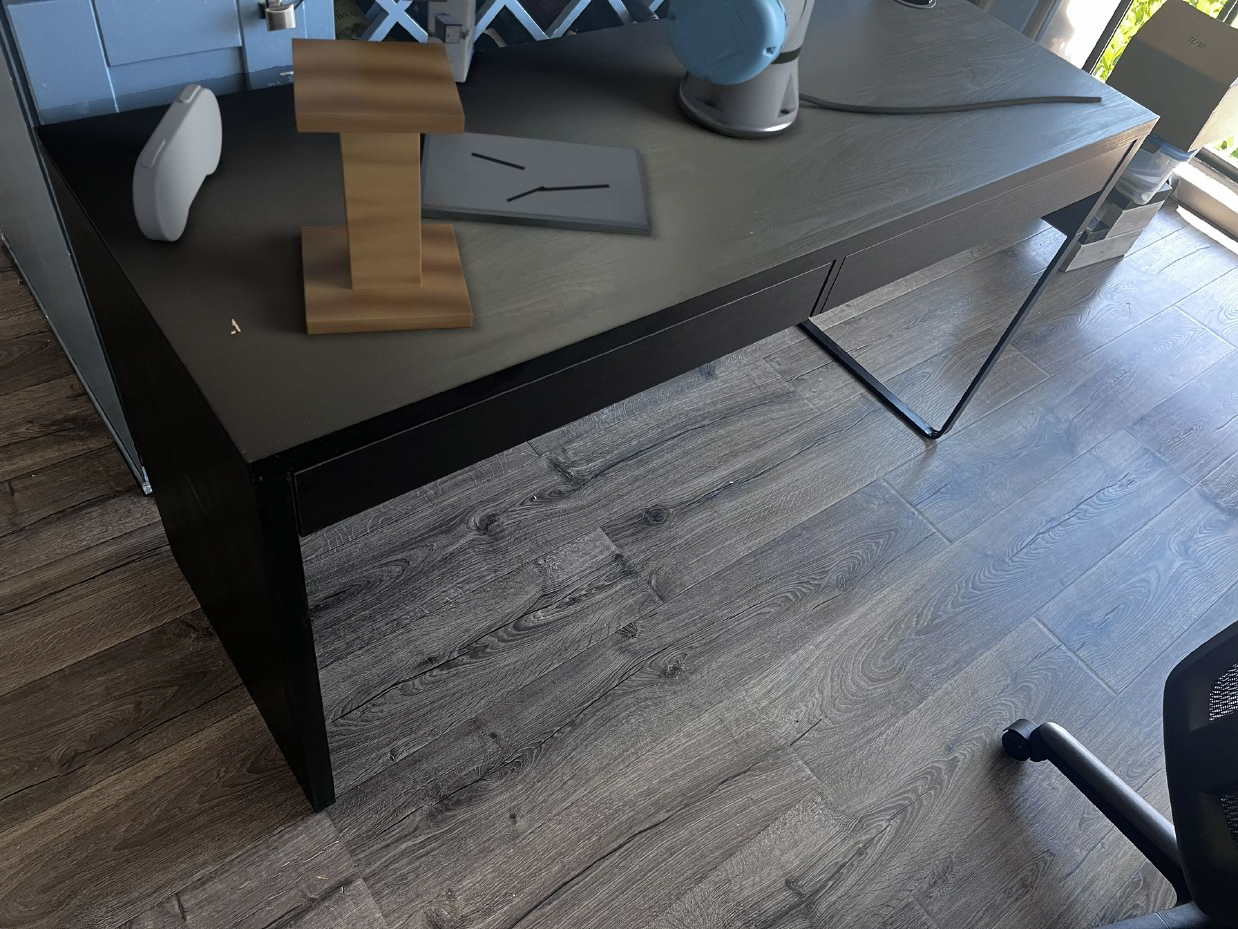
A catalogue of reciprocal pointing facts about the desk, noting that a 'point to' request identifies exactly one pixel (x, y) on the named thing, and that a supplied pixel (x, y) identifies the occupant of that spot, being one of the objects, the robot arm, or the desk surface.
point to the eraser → (429, 0)
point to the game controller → (177, 163)
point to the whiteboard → (534, 183)
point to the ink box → (454, 32)
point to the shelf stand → (379, 187)
